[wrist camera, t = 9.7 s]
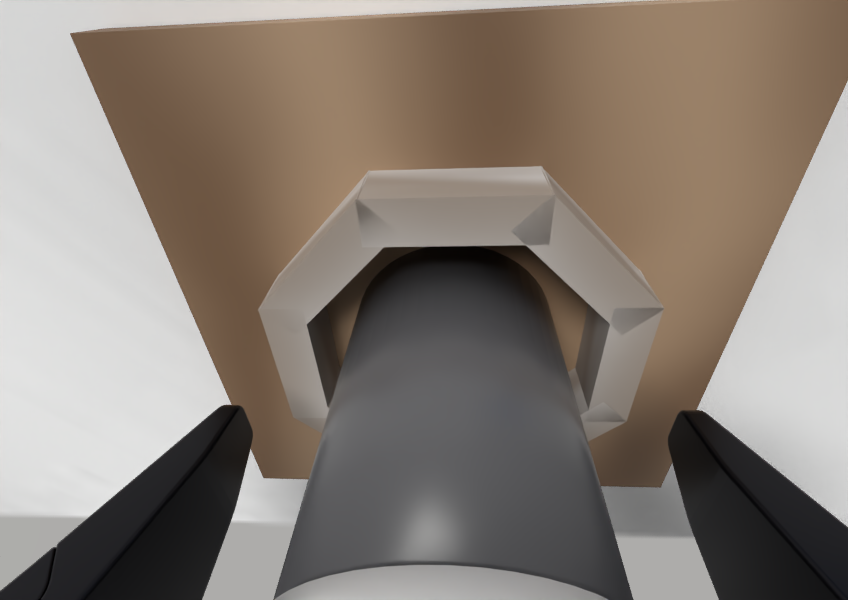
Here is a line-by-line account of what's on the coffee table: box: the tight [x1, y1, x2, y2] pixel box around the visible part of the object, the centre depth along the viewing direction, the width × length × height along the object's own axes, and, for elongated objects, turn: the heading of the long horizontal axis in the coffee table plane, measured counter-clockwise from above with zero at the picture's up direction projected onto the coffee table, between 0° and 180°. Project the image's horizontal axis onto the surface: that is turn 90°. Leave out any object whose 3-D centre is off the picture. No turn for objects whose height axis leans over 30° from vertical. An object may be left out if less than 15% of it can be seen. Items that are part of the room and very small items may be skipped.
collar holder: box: [70, 0, 848, 487], centre depth 12 cm, size 14×14×2 cm
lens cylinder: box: [273, 246, 633, 600], centre depth 8 cm, size 5×5×8 cm
